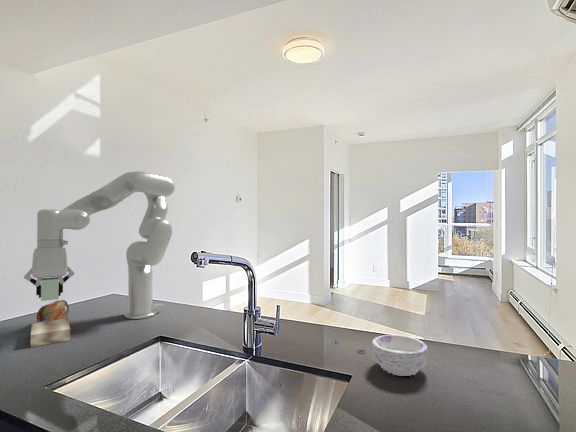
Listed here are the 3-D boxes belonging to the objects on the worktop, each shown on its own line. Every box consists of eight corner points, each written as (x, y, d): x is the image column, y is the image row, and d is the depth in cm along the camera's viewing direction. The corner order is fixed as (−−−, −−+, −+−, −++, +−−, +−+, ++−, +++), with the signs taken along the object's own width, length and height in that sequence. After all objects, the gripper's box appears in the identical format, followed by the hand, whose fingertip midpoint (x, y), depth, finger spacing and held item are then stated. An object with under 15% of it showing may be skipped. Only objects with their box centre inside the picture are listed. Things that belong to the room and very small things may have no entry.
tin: (43, 330, 129) (43, 308, 129) (34, 330, 129) (34, 307, 129) (69, 317, 144) (69, 297, 144) (62, 317, 144) (62, 297, 144)
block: (58, 296, 125) (58, 276, 125) (58, 299, 121) (58, 279, 121) (41, 297, 122) (41, 278, 122) (40, 301, 118) (41, 280, 118)
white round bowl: (380, 354, 110) (380, 329, 110) (431, 366, 102) (431, 339, 102) (364, 373, 97) (365, 345, 97) (421, 388, 89) (422, 358, 89)
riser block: (68, 328, 131) (67, 318, 131) (70, 340, 120) (70, 328, 120) (31, 334, 125) (31, 323, 125) (30, 347, 113) (30, 335, 113)
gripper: (77, 242, 129) (77, 291, 130) (20, 244, 120) (19, 296, 120) (79, 244, 123) (78, 295, 124) (18, 246, 114) (18, 301, 114)
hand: (49, 295), depth 122 cm, fingers closed on block, 5 cm apart
